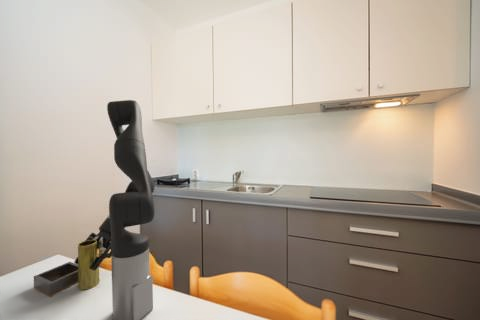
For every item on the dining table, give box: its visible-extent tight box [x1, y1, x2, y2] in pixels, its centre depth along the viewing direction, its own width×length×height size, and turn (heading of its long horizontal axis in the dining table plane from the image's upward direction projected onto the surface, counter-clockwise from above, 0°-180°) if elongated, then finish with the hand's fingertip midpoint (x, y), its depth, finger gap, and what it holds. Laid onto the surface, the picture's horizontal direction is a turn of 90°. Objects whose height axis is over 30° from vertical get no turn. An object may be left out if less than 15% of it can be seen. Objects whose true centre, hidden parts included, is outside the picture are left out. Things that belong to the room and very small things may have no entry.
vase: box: [77, 240, 101, 291], centre depth 69 cm, size 6×6×14 cm
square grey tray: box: [33, 261, 78, 298], centre depth 70 cm, size 10×10×4 cm
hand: (84, 266), depth 68 cm, fingers open, 8 cm apart
